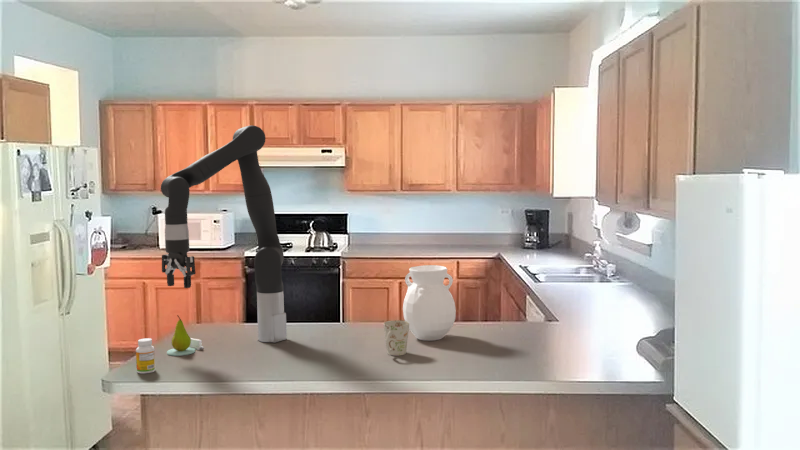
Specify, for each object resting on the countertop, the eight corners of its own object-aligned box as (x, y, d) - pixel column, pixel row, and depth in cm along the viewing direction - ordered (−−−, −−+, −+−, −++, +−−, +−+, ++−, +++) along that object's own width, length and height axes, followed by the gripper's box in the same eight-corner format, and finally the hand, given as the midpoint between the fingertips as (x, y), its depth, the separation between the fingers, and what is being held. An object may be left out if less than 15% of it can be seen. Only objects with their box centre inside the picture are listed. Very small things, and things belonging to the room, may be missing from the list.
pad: (200, 351, 251) (200, 349, 251) (178, 357, 244) (178, 355, 244) (183, 347, 256) (183, 346, 256) (161, 353, 249) (161, 351, 249)
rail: (203, 348, 255) (203, 339, 255) (197, 349, 253) (197, 341, 253) (184, 344, 261) (184, 336, 261) (179, 345, 259) (178, 337, 259)
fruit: (195, 350, 250) (193, 314, 249) (178, 354, 246) (177, 317, 245) (184, 347, 255) (183, 312, 254) (168, 350, 250) (166, 315, 249)
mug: (412, 351, 248) (412, 321, 247) (400, 360, 236) (400, 329, 235) (389, 349, 251) (388, 319, 250) (375, 358, 239) (375, 327, 238)
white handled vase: (395, 341, 262) (394, 270, 260) (414, 330, 279) (413, 263, 277) (446, 345, 255) (445, 272, 253) (462, 334, 272) (462, 265, 270)
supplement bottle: (139, 369, 230) (138, 337, 229) (157, 368, 231) (156, 337, 230) (134, 374, 225) (133, 342, 224) (153, 373, 225) (151, 341, 225)
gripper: (200, 237, 246) (202, 287, 247) (172, 235, 254) (174, 283, 256) (181, 239, 240) (183, 290, 241) (153, 237, 248) (156, 286, 249)
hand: (179, 286), depth 248 cm, fingers open, 8 cm apart
